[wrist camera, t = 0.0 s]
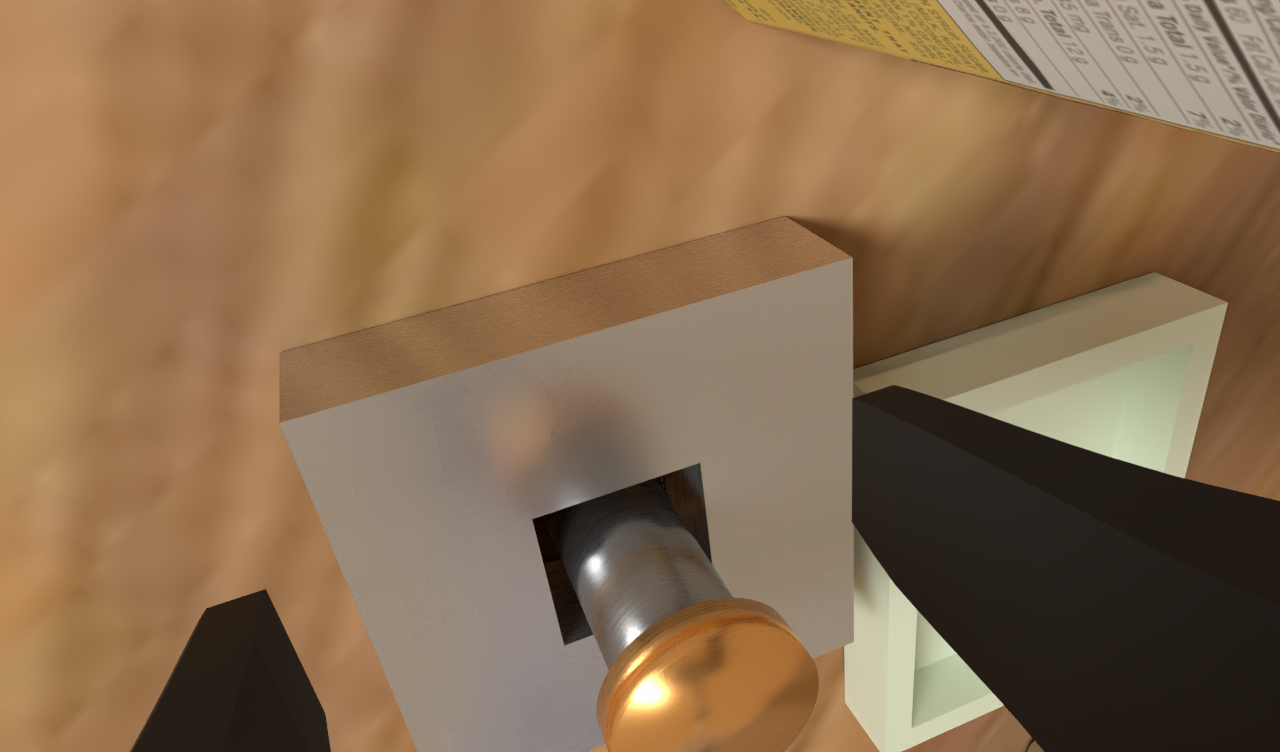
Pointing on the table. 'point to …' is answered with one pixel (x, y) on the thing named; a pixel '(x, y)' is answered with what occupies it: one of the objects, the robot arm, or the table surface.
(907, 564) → the robot arm
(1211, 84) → the candy box
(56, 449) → the table surface
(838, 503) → the block
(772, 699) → the copper-topped gray cylinder
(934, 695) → the tray
